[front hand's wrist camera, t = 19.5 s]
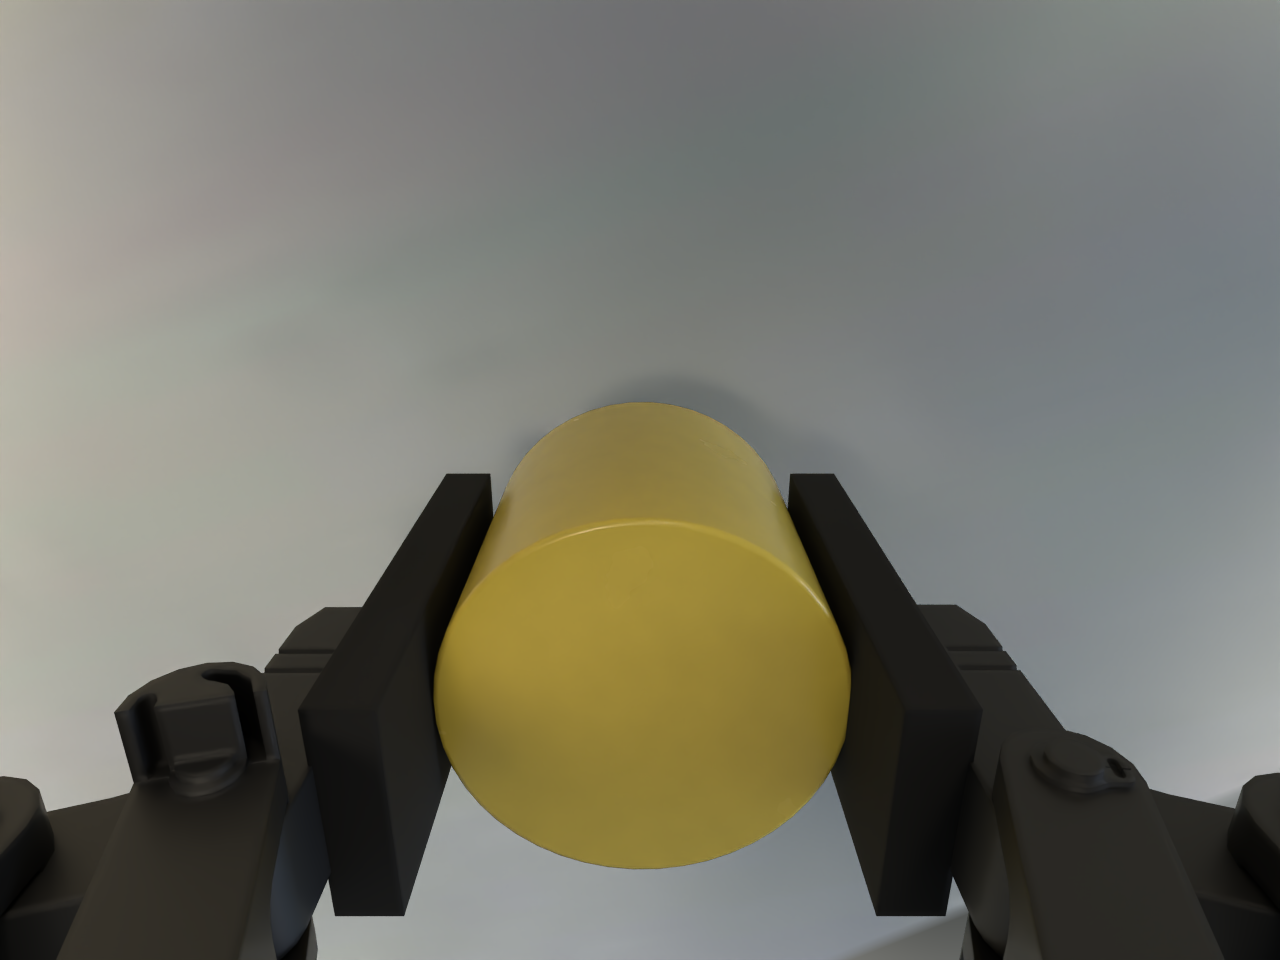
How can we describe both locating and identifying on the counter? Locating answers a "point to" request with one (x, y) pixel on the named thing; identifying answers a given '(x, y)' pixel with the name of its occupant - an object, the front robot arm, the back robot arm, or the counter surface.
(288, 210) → the counter surface
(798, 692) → the cylinder
